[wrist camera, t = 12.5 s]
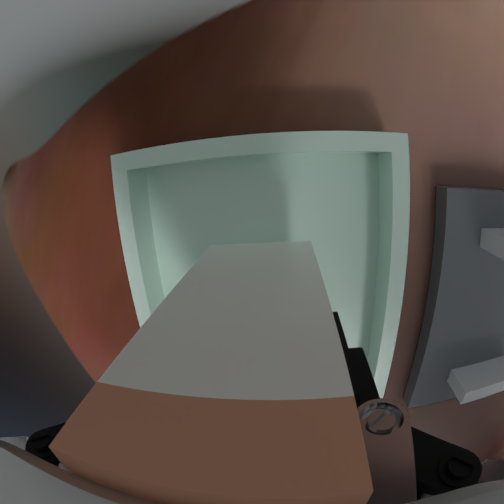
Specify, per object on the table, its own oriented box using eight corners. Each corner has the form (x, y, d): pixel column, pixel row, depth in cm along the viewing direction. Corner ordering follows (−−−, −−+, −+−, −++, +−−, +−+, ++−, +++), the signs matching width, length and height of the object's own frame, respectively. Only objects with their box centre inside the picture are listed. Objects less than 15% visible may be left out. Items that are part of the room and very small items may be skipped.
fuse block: (545, 194, 12) (580, 204, 8) (504, 371, 15) (524, 397, 12) (436, 185, 13) (474, 194, 9) (403, 397, 17) (417, 434, 13)
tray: (388, 137, 12) (407, 133, 10) (370, 384, 17) (379, 411, 14) (135, 155, 14) (110, 155, 12) (178, 386, 18) (166, 411, 16)
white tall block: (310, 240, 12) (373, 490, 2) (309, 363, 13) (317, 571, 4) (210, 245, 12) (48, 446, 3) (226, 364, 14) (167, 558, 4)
